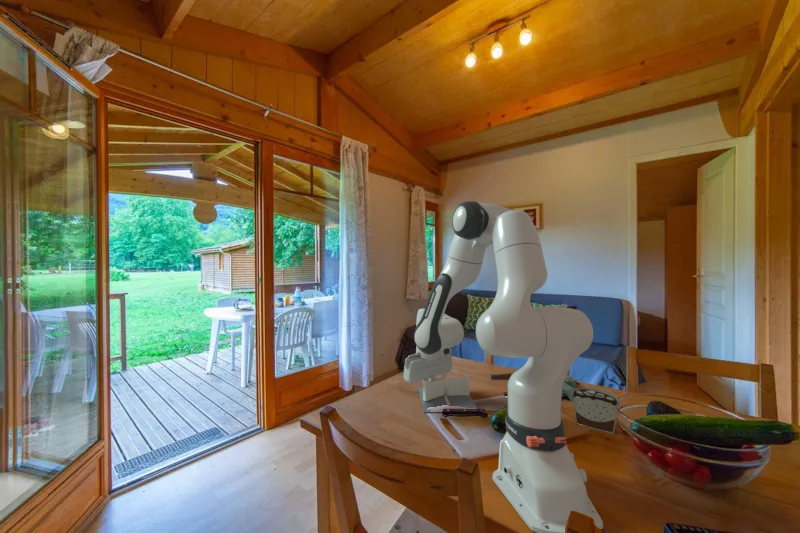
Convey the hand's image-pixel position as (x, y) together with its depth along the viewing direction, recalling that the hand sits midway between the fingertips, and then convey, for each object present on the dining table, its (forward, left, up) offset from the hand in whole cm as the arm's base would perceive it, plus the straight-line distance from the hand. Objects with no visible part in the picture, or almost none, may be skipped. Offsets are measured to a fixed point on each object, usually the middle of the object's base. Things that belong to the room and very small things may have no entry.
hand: (428, 388), depth 113 cm
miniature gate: (+8, -43, -4) cm, 44 cm away
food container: (-20, -48, -4) cm, 52 cm away
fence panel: (-1, -3, -3) cm, 4 cm away
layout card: (0, -6, -4) cm, 7 cm away
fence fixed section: (+2, -11, -4) cm, 11 cm away
